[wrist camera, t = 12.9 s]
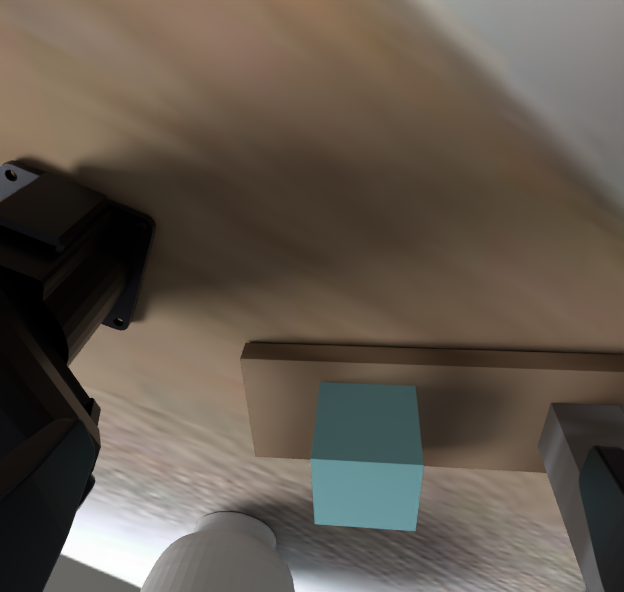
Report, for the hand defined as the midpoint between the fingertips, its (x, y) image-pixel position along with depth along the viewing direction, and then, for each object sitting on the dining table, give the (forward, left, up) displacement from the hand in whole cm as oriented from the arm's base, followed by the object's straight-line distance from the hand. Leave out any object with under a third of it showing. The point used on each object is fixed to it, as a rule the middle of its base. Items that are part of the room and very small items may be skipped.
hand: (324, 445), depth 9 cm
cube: (-10, -6, -12) cm, 17 cm away
